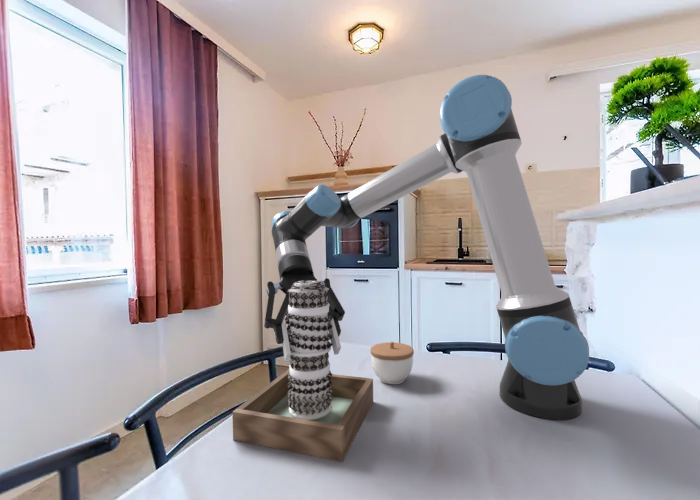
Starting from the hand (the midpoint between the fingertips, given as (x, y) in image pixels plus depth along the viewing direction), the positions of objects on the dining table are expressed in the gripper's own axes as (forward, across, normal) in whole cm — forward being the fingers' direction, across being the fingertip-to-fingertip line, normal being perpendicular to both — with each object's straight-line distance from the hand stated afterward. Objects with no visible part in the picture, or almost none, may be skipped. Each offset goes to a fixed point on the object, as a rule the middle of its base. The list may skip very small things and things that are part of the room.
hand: (313, 354), depth 61 cm
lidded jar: (0, -24, -20) cm, 31 cm away
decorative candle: (+6, 0, -11) cm, 12 cm away
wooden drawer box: (+7, 0, -12) cm, 14 cm away
